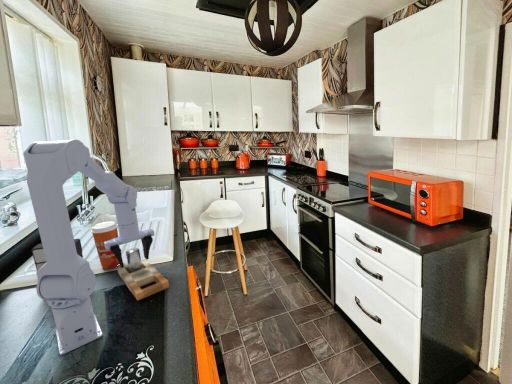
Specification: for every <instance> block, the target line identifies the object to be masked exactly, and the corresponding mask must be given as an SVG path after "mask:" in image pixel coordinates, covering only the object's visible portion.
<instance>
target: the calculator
mask: <svg viewBox="0 0 512 384" xmlns="http://www.w3.org/2000/svg"><path fill="white" fill-rule="evenodd" d="M74 242H75V246H76V251H77V254H78V255H79V256H81V257H82V258H84V255H83V246H82V243H81V238H74ZM31 254H32V258H33V261H34V265H35V268H36V272H37V271H38V270H39V269H40V268H41V267H42V266H43V265H44V264H45V263H46V258H45V254H44V249H43V245H42V243H38V244H37V245H35V246H34V247H33V248H31Z"/></svg>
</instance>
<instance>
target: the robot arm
mask: <svg viewBox="0 0 512 384" xmlns="http://www.w3.org/2000/svg"><path fill="white" fill-rule="evenodd" d="M90 153H91V152H90V149H89V147H88V146H86V145H85V144H84V142H83V141H81V140H79V139H75V138H73V139H70V140H56V141H55V140H54V141H33V142H32V143H31V144H30V145H28V147H27V148H26V149H25V150H24V151H23V157H24V163H25V165H26V170H27V171H26V172H27V174H26V182H27V183H26V184H27V187H28V191H29V195H30V200H31V205H32V208H33V212H34V213H33V214H34V215H35V216H34V217H35V220H36V225H37V229H38V232H39V236H40V240H41V244H42V245H43V249H44V254H45V258H46V263H45V264H44V265H43V266H42V267H41V268H40V269H39V270H38V271H37V270H36V278H37V281H36V282H37V283H36V294H37V296H38V297H39V299H42V300H45V301H46V304H47V305H48V306H50V307H51V308H50V309H51V312H52V315H53V320H54V324H55V327H56V330H55V333H56V334H55V335H56V341H57V346H58V353H59V355H60V356H62V355H65V354H67V353H68V352H69V353H70V352H71V351H73V350H75V349H77V348H80V347H82V346H84V345H86V344H88V343H91V342H92V341H95V340H97V339H99V338H101V337H102V336H103V331H102V329H101V327H100V324H99V322H98V320H97V316H96V315H95V313H94V307H93V303H92V298H91V294H93V292H94V290H95V288H96V284H97V278H96V274H95V272H94V270H92V268H91V265H90V262H89V261H88V260H86V259H85V258H84V257H83V258H82V257H81V256H79V255H78V254H77V251H76V246H75V242H74V239H75V238H74V233H73V230H72V223H71V220H70V213H69V211H68V205H67V202H66V201H67V200H66V197H65V192H64V187H63V186H64V184H65V183H66V182H67V180H69V179H71V178H72V177H74V176H75V175H76V174H77V173H80V174H82V175H84V176H86V177H87V178H88V179H91V180H92V181H94V186H95V188H96V189H98V190H99V191H100V192H101V193H103V194H104V195H105V196H106V197H107V200H108V202H109V204H111V205H113V207H114V213H115V217H116V218H115V219H116V222H117V223H116V224H117V225H118V228H117V230H118V237H117V238H114V239H111V240H109V241H106V242H104V245H105V248H106V249H110V250H111V251H112V252H113V253H114V255H115V256H116V258H117V260H118V262H119V264H120V265H119V268H120V267H121V268H123V267H124V266H125V265H124V261H123V256H122V249H121V248H120V246H121V245H125V244H127V243H131V242H135V241H138V240H141V245H142V250H143V257H144V259H146V260H149V259H150V257H149V256H150V250H151V247H152V244H153V240H154V239H153V237H155V235H156V234H155V230H154V229H153V228H150V229H145V230H140V227H139V222H138V216H137V215H138V214H137V204H138V203H137V198H138V191H137V190H136V188H135V187H134V186H133V185H131V184H126V183H125V182H124V181H123V180H122V179H120V178H119V177H118V176H117V175H116V174H115V172H113V171H107V170H106V171H105V170H104V169H103V167H101V166H100V165H99V164H98V163H97V162H96V161H95V160H94V159H93V158H92V157H91V154H90ZM118 245H119V246H118Z"/></svg>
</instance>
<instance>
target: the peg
mask: <svg viewBox="0 0 512 384" xmlns="http://www.w3.org/2000/svg"><path fill="white" fill-rule="evenodd" d="M125 256H126V261H127V265H128V268H129V272H128V273H129V274H130V273H133V272H136V271H139V270H141V269H143V268H142V263H141V260H142V258H141V251H140V248H138V247H133V248H129V249H127V250H126V251H125Z"/></svg>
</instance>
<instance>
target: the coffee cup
mask: <svg viewBox="0 0 512 384" xmlns="http://www.w3.org/2000/svg"><path fill="white" fill-rule="evenodd" d="M90 233H92V237H93V242H94V244H95V247H96V251H97V255H98V258H99V262H100V266H101V268H102V267H103V268H104V269H103V268H102V269H103V270H110V269H114V268H117V267H118V266H117V265H118V264H119V262H118V260H117V258H116V256H115V255H114V253H113V252H112V251H111V250H110V249H106V248H105V245H104V242H106V241H109V240H111V239H114V238H117V237H119V230H118V224H117V223H116V221H110V220H109V221H103V222H98V223H96V224H94V225H93V226H92V227H91V230H90ZM118 246H119V247H120V245H118ZM116 266H117V267H116Z"/></svg>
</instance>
